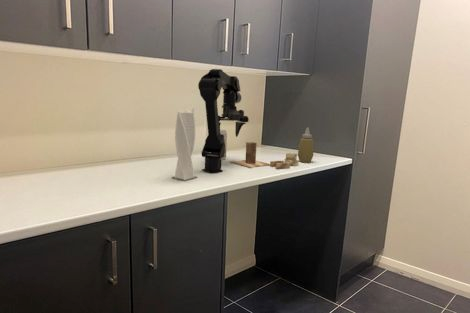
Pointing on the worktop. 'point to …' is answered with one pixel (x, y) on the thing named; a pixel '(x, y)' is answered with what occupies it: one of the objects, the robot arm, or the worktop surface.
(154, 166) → the worktop surface
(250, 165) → the striped wooden board
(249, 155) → the brown wooden block
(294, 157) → the pine offcut upper
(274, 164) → the oak rack
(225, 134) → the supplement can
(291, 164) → the pine offcut lower
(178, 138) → the skyscraper
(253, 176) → the worktop surface
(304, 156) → the squeeze bottle
